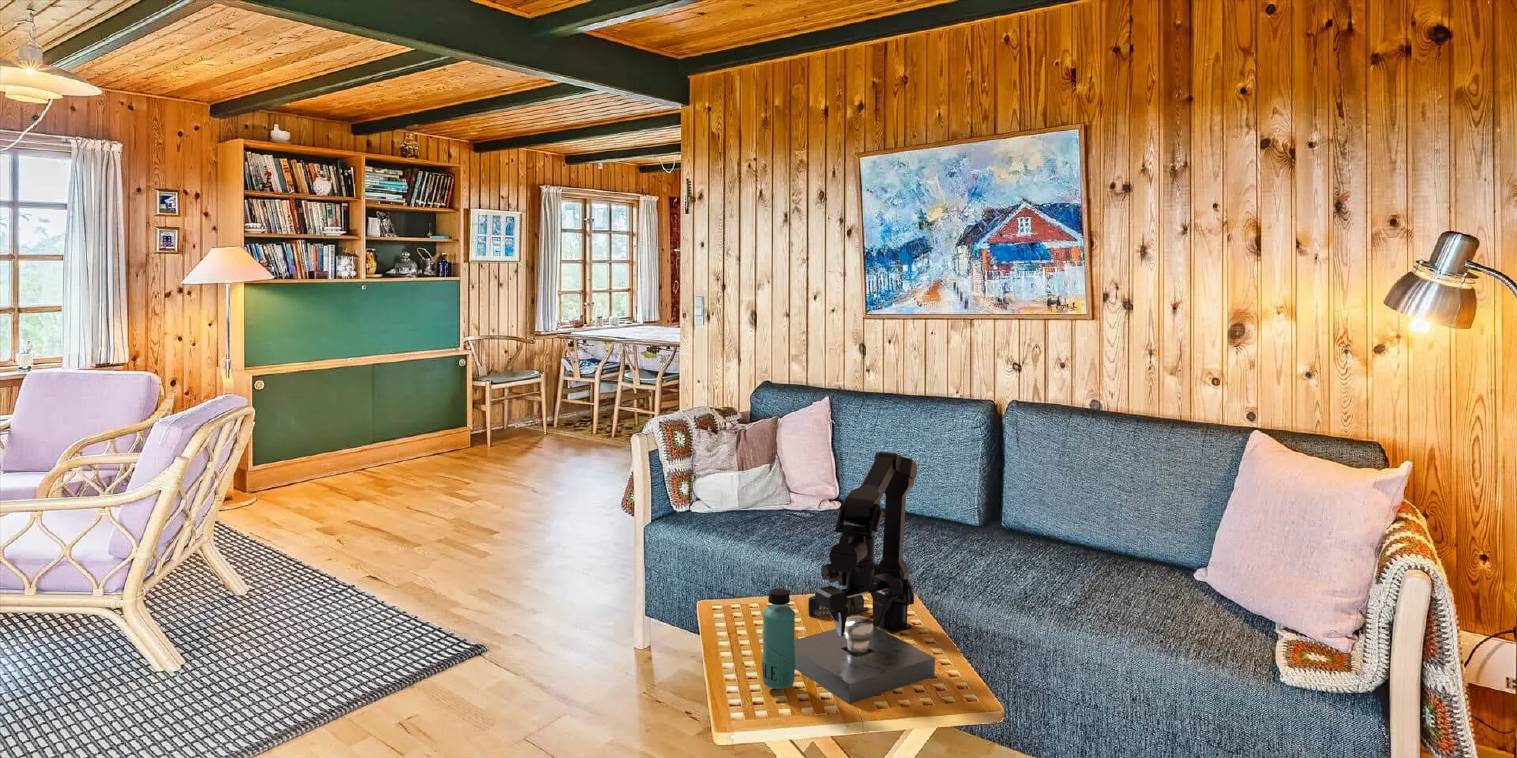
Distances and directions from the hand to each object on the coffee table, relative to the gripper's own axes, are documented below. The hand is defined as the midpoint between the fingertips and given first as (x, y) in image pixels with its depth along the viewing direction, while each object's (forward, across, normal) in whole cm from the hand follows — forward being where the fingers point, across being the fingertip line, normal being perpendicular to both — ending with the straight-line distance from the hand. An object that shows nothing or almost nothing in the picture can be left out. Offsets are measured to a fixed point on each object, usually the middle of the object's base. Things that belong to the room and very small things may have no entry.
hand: (858, 631), depth 180 cm
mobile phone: (+8, -15, -26) cm, 31 cm away
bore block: (+8, 0, 0) cm, 8 cm away
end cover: (+5, 0, 0) cm, 5 cm away
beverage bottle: (+8, +19, -1) cm, 21 cm away
